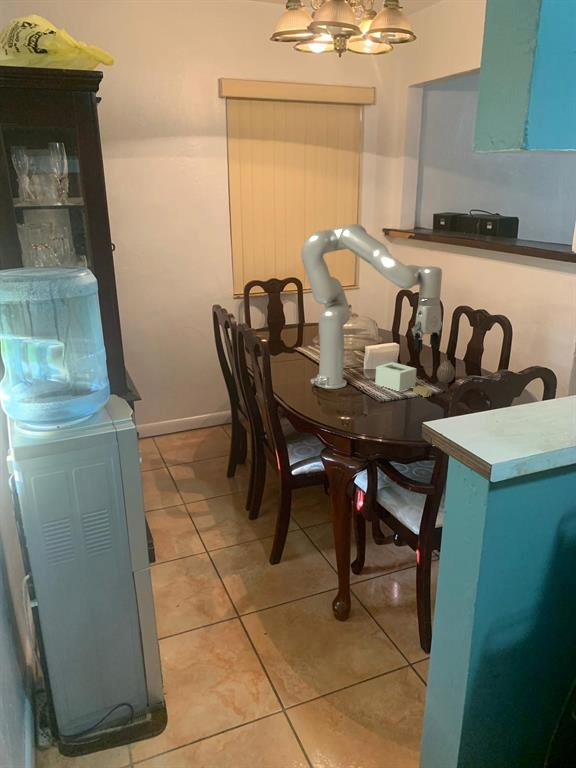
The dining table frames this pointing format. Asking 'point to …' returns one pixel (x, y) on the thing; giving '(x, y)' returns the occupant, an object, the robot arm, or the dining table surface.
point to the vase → (446, 372)
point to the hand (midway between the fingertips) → (425, 347)
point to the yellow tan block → (422, 391)
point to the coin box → (395, 376)
